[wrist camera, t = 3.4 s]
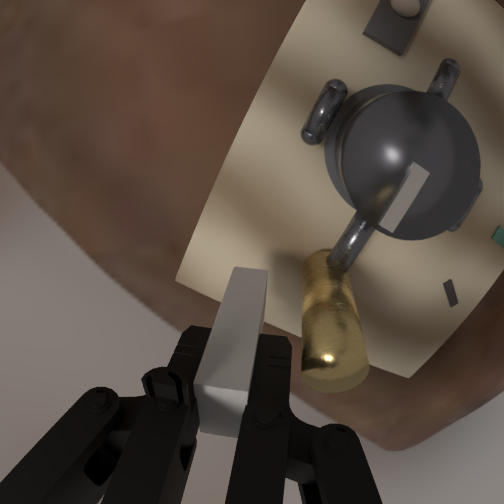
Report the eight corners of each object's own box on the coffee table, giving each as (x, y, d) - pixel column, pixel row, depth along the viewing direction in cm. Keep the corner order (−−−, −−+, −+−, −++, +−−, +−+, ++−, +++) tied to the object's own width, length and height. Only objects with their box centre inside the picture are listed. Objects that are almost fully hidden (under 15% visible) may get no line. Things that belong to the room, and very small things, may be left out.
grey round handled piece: (364, 8, 10) (415, -53, 4) (506, 116, 11) (600, 142, 5) (236, 252, 17) (202, 346, 10) (377, 318, 17) (402, 416, 11)
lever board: (354, -71, 9) (364, -100, 6) (566, 103, 11) (598, 110, 8) (184, 264, 20) (165, 295, 17) (403, 360, 22) (413, 394, 19)
